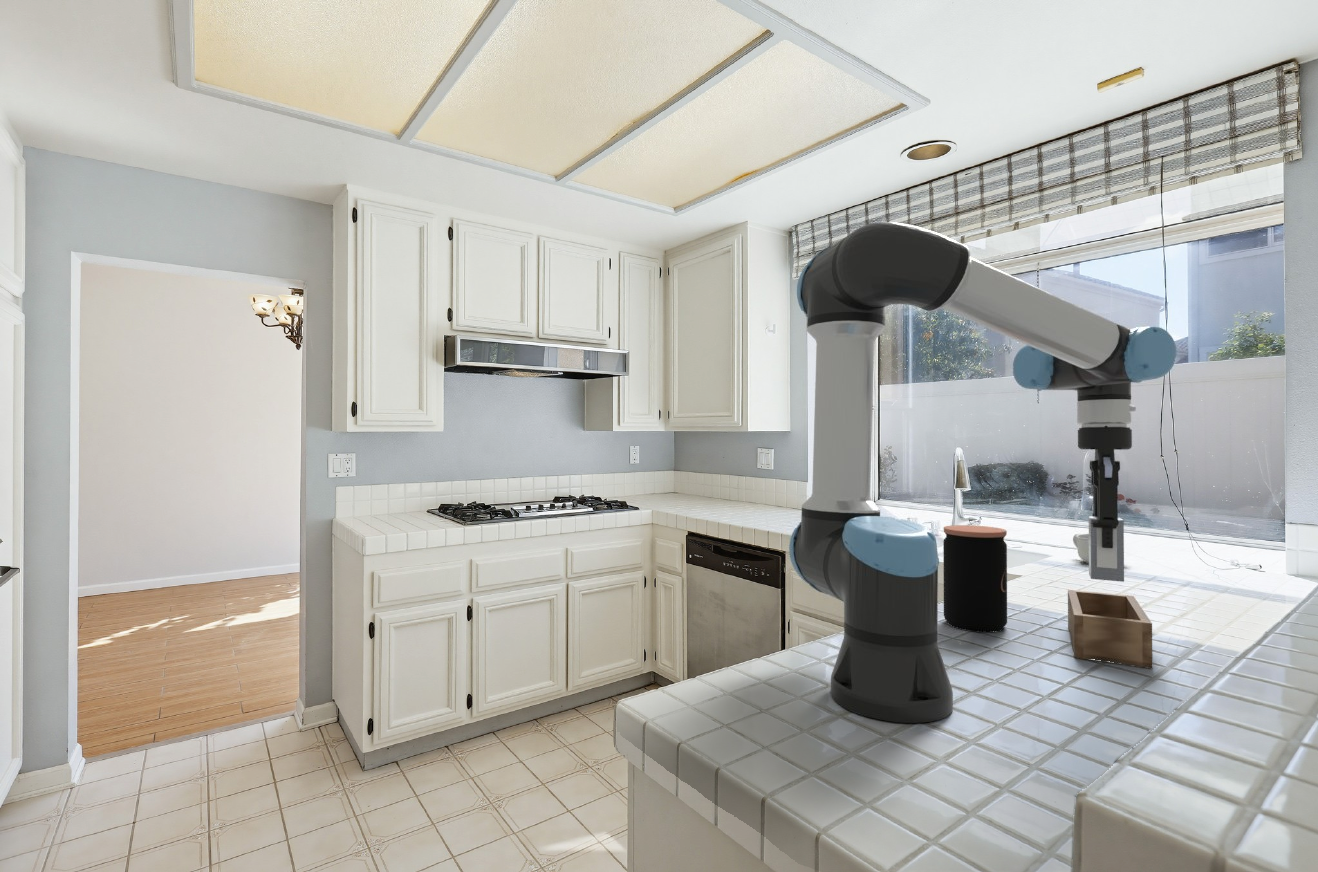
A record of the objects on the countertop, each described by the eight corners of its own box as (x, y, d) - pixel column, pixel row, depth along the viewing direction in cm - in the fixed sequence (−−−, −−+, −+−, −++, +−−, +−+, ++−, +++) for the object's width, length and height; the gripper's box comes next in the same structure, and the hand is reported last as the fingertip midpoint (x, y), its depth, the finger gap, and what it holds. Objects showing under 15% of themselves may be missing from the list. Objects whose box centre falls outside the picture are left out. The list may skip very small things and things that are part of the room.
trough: (1074, 657, 102) (1074, 614, 103) (1067, 626, 120) (1067, 589, 120) (1152, 668, 98) (1152, 623, 98) (1133, 634, 115) (1133, 595, 115)
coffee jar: (1015, 635, 115) (1015, 533, 115) (951, 631, 117) (950, 531, 117) (996, 619, 125) (996, 525, 125) (938, 616, 127) (937, 524, 128)
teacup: (1131, 567, 179) (1131, 538, 179) (1091, 567, 179) (1091, 538, 179) (1098, 558, 193) (1098, 531, 193) (1061, 558, 193) (1061, 531, 193)
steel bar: (1091, 578, 108) (1090, 518, 108) (1089, 574, 112) (1088, 516, 112) (1124, 581, 106) (1123, 520, 106) (1120, 576, 110) (1120, 517, 110)
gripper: (1139, 424, 100) (1140, 576, 100) (1124, 427, 115) (1125, 558, 115) (1081, 425, 104) (1082, 571, 103) (1074, 427, 119) (1075, 555, 119)
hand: (1105, 564), depth 109 cm, fingers closed on steel bar, 4 cm apart
